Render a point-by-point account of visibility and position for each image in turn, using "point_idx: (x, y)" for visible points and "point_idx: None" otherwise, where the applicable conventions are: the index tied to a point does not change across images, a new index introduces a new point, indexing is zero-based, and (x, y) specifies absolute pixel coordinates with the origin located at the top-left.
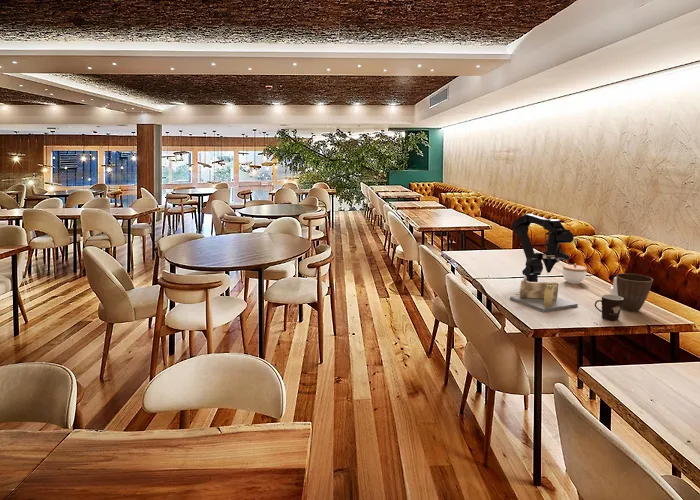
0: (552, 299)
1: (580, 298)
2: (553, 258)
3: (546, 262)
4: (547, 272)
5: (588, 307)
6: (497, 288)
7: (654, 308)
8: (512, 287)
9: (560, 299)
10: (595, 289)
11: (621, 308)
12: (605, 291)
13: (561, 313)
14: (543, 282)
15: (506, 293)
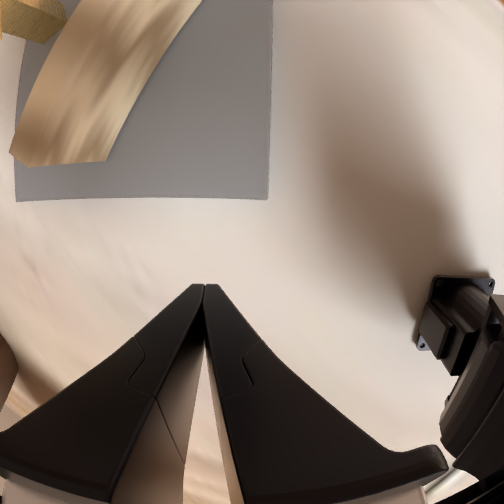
0: (21, 37)
1: (121, 345)
2: (7, 493)
3: (222, 411)
4: (212, 285)
5: (15, 242)
6: (496, 59)
7: (18, 411)
8: (488, 162)
9: (81, 170)
10: (224, 488)
11: (2, 338)
12: (189, 487)
13: (10, 57)
14: (81, 39)
15: (393, 2)
